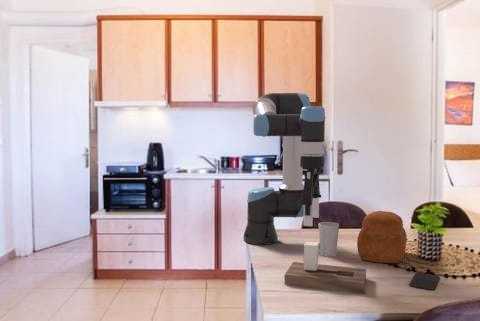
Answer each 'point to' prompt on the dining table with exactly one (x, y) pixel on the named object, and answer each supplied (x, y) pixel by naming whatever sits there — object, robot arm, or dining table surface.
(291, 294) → the dining table surface
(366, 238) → the bread
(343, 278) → the keyhole board
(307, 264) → the keyhole peg
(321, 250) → the cup
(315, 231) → the dining table surface
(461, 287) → the dining table surface
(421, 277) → the phone
